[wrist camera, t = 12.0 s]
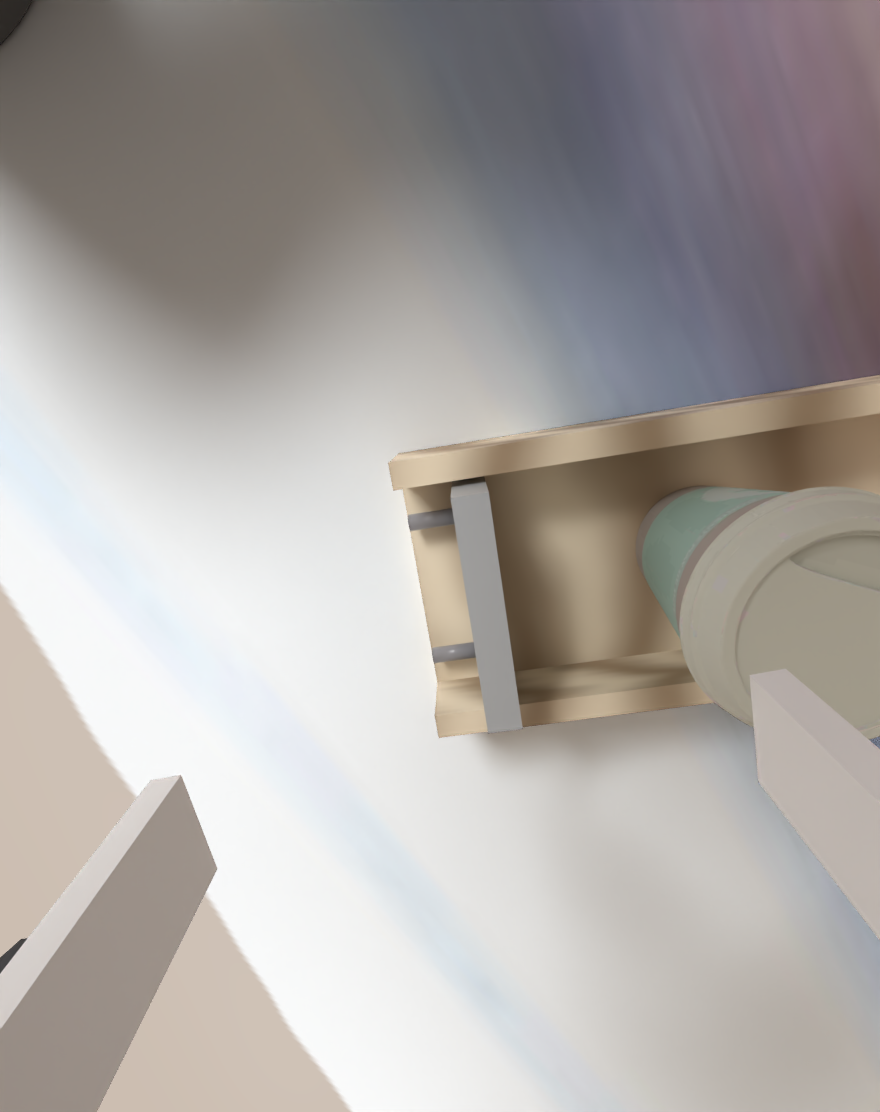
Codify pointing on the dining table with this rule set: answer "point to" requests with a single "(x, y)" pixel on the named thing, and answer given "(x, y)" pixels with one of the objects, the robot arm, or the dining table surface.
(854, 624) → the coffee cup
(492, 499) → the wooden tray
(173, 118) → the dining table surface
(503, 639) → the pusher
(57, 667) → the dining table surface
